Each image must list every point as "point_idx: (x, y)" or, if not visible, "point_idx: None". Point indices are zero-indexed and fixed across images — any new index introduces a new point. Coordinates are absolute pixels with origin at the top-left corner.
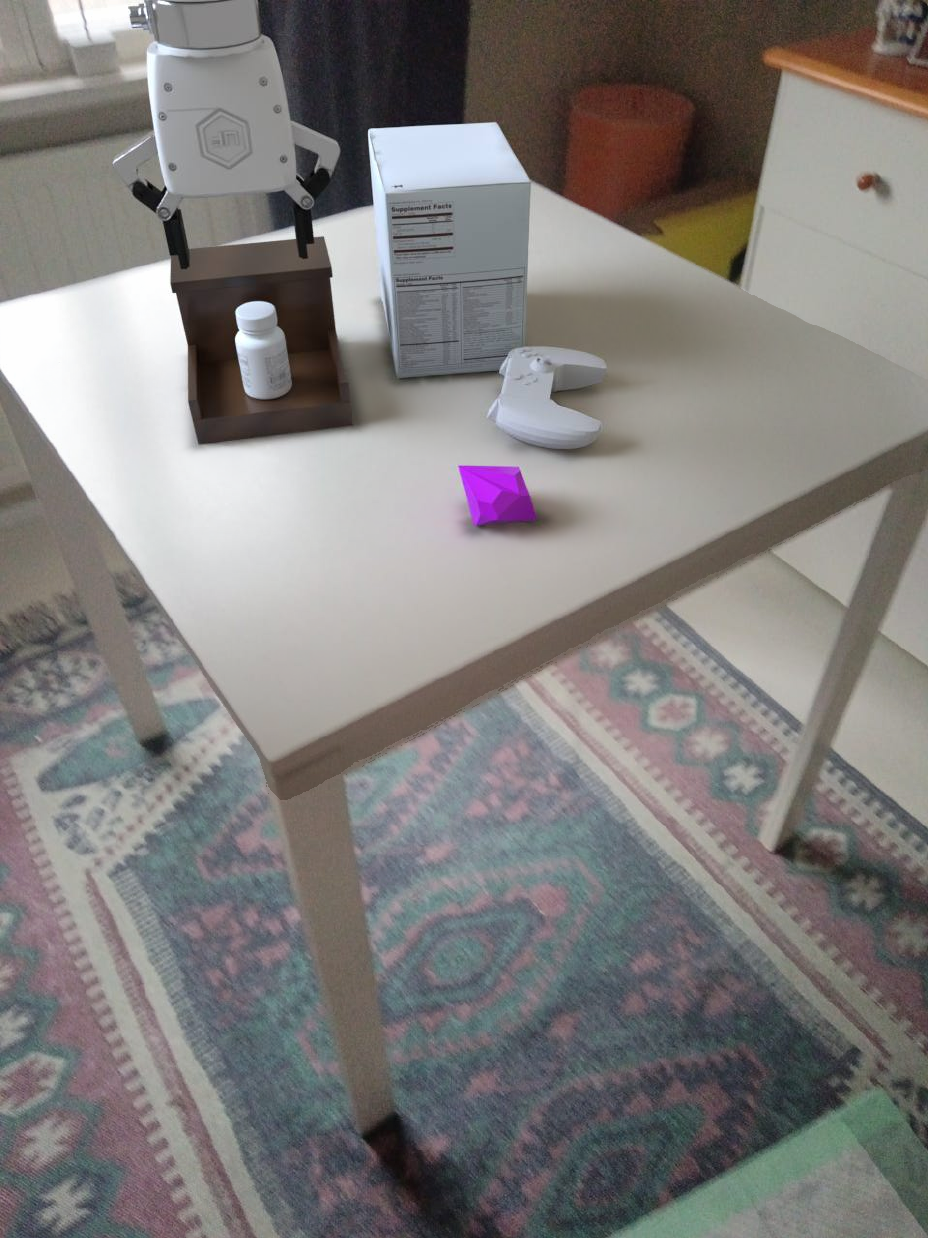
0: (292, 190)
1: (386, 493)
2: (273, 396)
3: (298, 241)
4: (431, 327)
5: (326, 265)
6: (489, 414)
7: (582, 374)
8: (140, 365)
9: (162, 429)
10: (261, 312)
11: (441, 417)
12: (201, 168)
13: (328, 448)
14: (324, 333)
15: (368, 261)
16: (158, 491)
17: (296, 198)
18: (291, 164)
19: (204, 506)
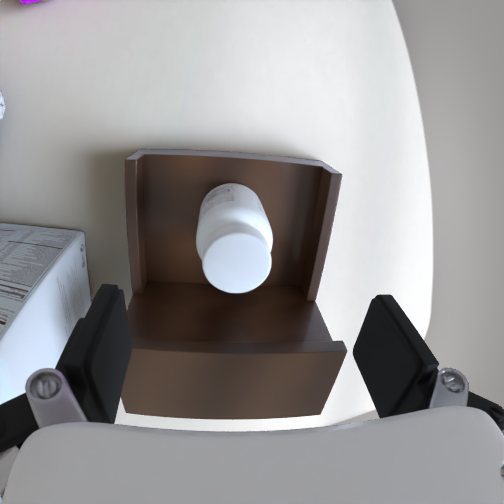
0: (68, 422)
1: (133, 14)
2: (228, 183)
3: (108, 311)
4: (21, 253)
5: None
6: (1, 106)
7: None
8: (343, 319)
9: (351, 203)
10: (227, 254)
11: (49, 147)
12: (434, 501)
13: (176, 107)
14: (147, 292)
15: (121, 417)
16: (371, 91)
17: (66, 400)
18: (11, 489)
19: (331, 47)
